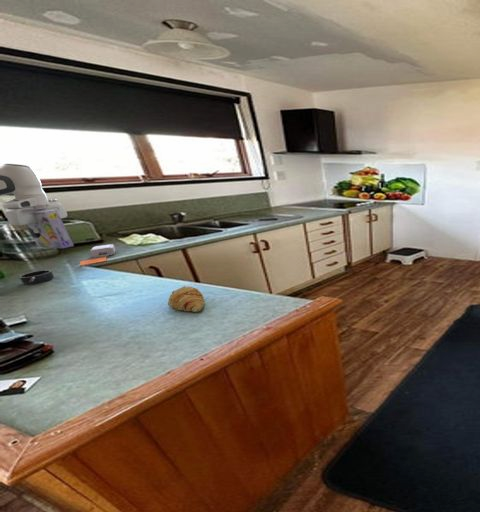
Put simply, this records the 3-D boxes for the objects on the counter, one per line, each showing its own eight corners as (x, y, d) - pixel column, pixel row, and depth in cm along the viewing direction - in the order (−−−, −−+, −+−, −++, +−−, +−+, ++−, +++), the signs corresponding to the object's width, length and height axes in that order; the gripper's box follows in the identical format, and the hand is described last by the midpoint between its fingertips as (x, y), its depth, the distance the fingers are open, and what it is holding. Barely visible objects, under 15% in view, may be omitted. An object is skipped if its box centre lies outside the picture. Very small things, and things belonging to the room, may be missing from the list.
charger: (117, 249, 170) (114, 254, 159) (96, 252, 164) (92, 258, 153) (114, 241, 168) (112, 246, 157) (93, 244, 163) (89, 250, 152)
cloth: (79, 266, 141) (79, 265, 141) (81, 261, 148) (80, 261, 148) (106, 261, 147) (106, 260, 147) (106, 257, 154) (106, 256, 154)
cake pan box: (34, 247, 130) (17, 210, 124) (49, 244, 134) (33, 208, 129) (61, 249, 125) (44, 211, 119) (75, 246, 130) (60, 209, 124)
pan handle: (29, 284, 114) (27, 281, 114) (32, 279, 119) (31, 276, 118) (33, 283, 115) (32, 280, 114) (36, 278, 120) (35, 276, 119)
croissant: (211, 318, 96) (218, 296, 97) (179, 318, 88) (187, 294, 88) (185, 301, 107) (191, 282, 108) (155, 300, 99) (162, 279, 100)
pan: (21, 286, 117) (17, 279, 116) (25, 280, 124) (22, 273, 122) (52, 280, 123) (49, 273, 122) (55, 275, 129) (52, 268, 128)
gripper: (51, 198, 133) (63, 226, 137) (-4, 204, 113) (12, 236, 118) (65, 198, 133) (76, 226, 137) (12, 204, 113) (27, 236, 118)
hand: (46, 231), depth 127 cm, fingers closed on cake pan box, 5 cm apart
